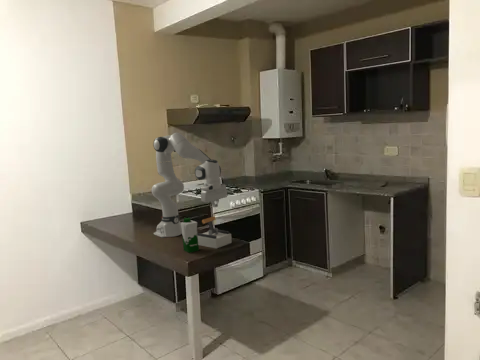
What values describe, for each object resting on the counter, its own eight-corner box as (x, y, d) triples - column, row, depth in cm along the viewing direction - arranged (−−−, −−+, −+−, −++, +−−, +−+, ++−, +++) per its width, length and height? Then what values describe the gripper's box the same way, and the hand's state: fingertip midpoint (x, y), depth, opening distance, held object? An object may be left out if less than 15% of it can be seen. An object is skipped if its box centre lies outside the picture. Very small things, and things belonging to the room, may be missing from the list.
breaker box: (196, 244, 260) (195, 230, 259) (212, 239, 270) (211, 225, 269) (216, 248, 248) (215, 233, 247) (231, 242, 258) (230, 228, 257)
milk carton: (194, 247, 254) (191, 216, 251) (201, 250, 247) (198, 218, 244) (181, 250, 249) (178, 219, 246) (188, 253, 242) (185, 221, 239)
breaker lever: (207, 235, 255) (201, 220, 256) (218, 232, 262) (212, 217, 264) (209, 235, 254) (203, 219, 255) (220, 231, 261) (214, 216, 262)
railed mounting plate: (197, 235, 259) (197, 233, 259) (212, 230, 269) (212, 228, 268) (214, 238, 248) (214, 236, 248) (229, 233, 258) (229, 231, 258)
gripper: (221, 182, 261) (223, 203, 263) (198, 187, 246) (200, 209, 248) (228, 183, 257) (230, 204, 259) (205, 188, 242) (207, 210, 244)
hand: (215, 206), depth 253 cm, fingers closed
